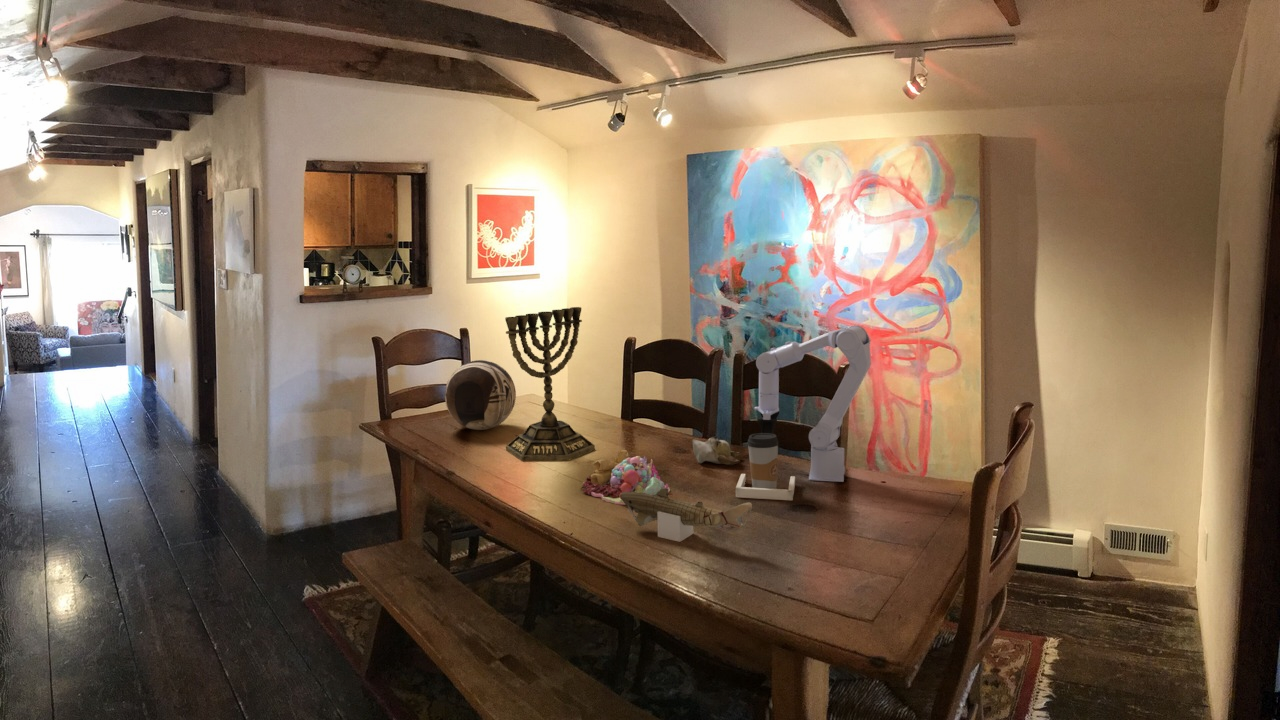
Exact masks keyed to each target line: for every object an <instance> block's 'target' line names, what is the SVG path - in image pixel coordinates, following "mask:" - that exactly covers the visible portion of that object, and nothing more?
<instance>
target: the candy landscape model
mask: <svg viewBox="0 0 1280 720" xmlns="http://www.w3.org/2000/svg"><path fill="white" fill-rule="evenodd" d="M653 462H654V461H653V459H652V458H651V459H650V462H648V459H647V457H646V455H643V457H641V456H640V455H636V456H633V457H630V456H629V452H628V451H627V450H626V449H620V450H619V451H618V452H617V458H616V457H614V458H613V460H610V459H597V460H596V461H594V462H593V464H592V465H593V466H594V467H595V469H596V470H593V473H592V474H590V475H589V476H587V477H586V478H585V480H586V481H583V482H582V483H583V484H582V486H581V487H580V490H582V489H584V490H583V491H582V493H584V494H585V495H586V494H587V495H589V496H590V495H591V496H592V497H595V498H600V499H602V501H604V502H606V503H611V504H615V505H622V506H624V505H625V506H626V504H625V503H624V502H623V500H622V499H621V497H620V494H621V493H622V492H638V493H639V492H642V493H646V494H651V495H652V494H654V495H655V494H656V493H657V492H658V491H659V490H660V489H663V488H667V489H668V494H669V493H670V491H671V489H670V487H669V484H668V483H666V484H665V483H664V482H663V481H662V480H661V478H662V477H660V475H658V470H656V466H655V465H654V463H653Z"/></svg>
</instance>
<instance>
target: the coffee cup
mask: <svg viewBox="0 0 1280 720" xmlns="http://www.w3.org/2000/svg"><path fill="white" fill-rule="evenodd" d="M747 446H748V454H749V455H748V457H749V458H748V459H749V460H748V461H749V470H750V478H751V488H769V489H777V487H778V486H777V482H778V466H779V465H778V462H779V459H778V455H779V454H778V453H779V439H778V438H777V434H775V433H773V434H771V433H762V432H759V433H752V434H749V436H748V439H747Z"/></svg>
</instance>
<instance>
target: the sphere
mask: <svg viewBox="0 0 1280 720" xmlns="http://www.w3.org/2000/svg"><path fill="white" fill-rule="evenodd" d="M444 389H445V390H444V402H445V406H446V408H447V411H448V412H449V414H450V416H451V418H453V420H455V422H457V423H458V424H459V425H461V426H463V427H464V428H466V429H471V430H475V431H486V430H490V429H493V428H496V427H498V426H499V425H501V424H502V423H504V421H506V420H507V419H508V417H509V416H510V415H511V413H512V411H513V409H514V407H515V404H516V398H517V392H516V386H515V383H514V381H513V379H512V376H511V375H510V373H509V372H508V371H507V370H506V369H505V368H504V367H502V366H501V365H499V364H497V363H495V362H493V361H489V360H483V359H480V360H479V359H478V360H471V361H468V362H466V363H464V364H462V365H460V366H459V367H457V368H456V370H454V371H453V372H452V373H451V375H450V376H449V378H448V381H447V382H446V385H445V388H444Z"/></svg>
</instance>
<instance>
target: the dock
mask: <svg viewBox="0 0 1280 720" xmlns="http://www.w3.org/2000/svg"><path fill="white" fill-rule="evenodd" d="M746 478H747V477H746V473H741V474H740V476H739V479H738V481H737V483H736V486H735V498H745V499H763V500H775V501H776V500H777V501H778V500H780V501H794V494H795V488H796V487H795V486H796V476H794V475H791V476H790V479H789V484H788V489H783V488H776V489H769V488H752V487H750V486H749V487H746V486H745V485H746V483H745V482H747V481H746Z"/></svg>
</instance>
